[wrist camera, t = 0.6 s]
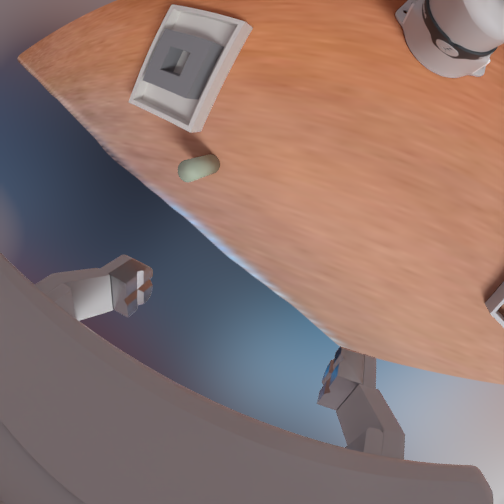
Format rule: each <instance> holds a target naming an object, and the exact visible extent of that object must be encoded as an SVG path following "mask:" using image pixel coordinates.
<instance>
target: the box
mask: <svg viewBox="0 0 504 504" xmlns="http://www.w3.org/2000/svg"><path fill="white" fill-rule="evenodd" d="M252 29H253V27H251V26H250V25H249V24H248V23H246V22H245V21H242V20H238V19H235V18H232V17H228V16H224V15H221V14H217V13H213V12H208V11H204V10H200V9H195V8H190V7H185V6H179V5H174V4H172V5H171V7H170V8H169V10H168V12H167V14H166V16H165V18H164V20H163V22H162V24H161V26H160V28H159V30H158V32H157V34H156V36H155V38H154V40H153V43H152V45H151V47H150V49H149V51H148V54H147V56H146V58H145V61H144V63H143V66H142V68H141V70H140V73H139V75H138V78H137V81H136V83H135V86H134V89H133V91H132V94H131V97H130V100H129V103H132V104H134V105H136V106H138V107H140V108H142V109H144V110H146V111H148V112H151V113H153V114H155V115H157V116H159V117H161V118H163V119H165V120H167V121H169V122H171V123H173V124H175V125H177V126H179V127H181V128H183V129H184V130H186V131H188V132H190V133H192V132H201V130H202V128H203V126H204V123H205V121H206V119H207V117H208V115H209V112H210V110H211V108H212V106H213V104H214V102H215V100H216V97H217V95H218V93H219V91H220V89H221V87H222V85H223V83H224V81H225V79H226V77H227V75H228V73H229V71H230V69H231V67H232V65H233V63H234V61H235V60H236V58H237V56H238V54H239V52H240V50H241V48H242V47H243V45H244V43H245V41H246V39H247V37H248V36H249V34H250V32H251V30H252Z"/></svg>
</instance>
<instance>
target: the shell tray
mask: <svg viewBox="0 0 504 504" xmlns="http://www.w3.org/2000/svg"><path fill="white" fill-rule="evenodd" d="M503 303H504V282H503V283H502V284H501V285H500V286H499V288H498V289H497V290H496V291H495V292H494V293H493V295H492V296H491V297H490V298H489V299H488V300H487V301H486V302H485V305H486V307H487V309H488V310H489V312H490V314H491V315H492V316H493V317H494V318H495V319H496V320H497V321H498V322H499V323H500V324H501V325H502V326H503V327H504V317H503V315H502V314H501V313H500V312H499V311H498V309H499V308H500V307H501V306H502V305H503Z"/></svg>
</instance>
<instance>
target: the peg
mask: <svg viewBox="0 0 504 504" xmlns="http://www.w3.org/2000/svg"><path fill="white" fill-rule="evenodd" d="M219 167H220V161H219V159H218V158H217V157H216V156H215V155H212V154H209V155H205V156H200V157H196V158H192V159H188V160H184V161H182V162H181V163H180V164H179V166H178V175H179V177H180V178H181V179H182V180H183V181H185V182H191V181H194V180H197V179H199V178H202V177H205V176H208V175H210V174H213V173H215V172H217V171H218V170H219Z"/></svg>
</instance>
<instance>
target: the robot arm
mask: <svg viewBox="0 0 504 504" xmlns="http://www.w3.org/2000/svg"><path fill="white" fill-rule="evenodd" d="M403 11H406V12H407V14H406V13H404V12H403ZM395 17H396V19H397V20H398V22H399V23H400V25H401V26H402V28H403V31H404V35H405V39H406V42H407V45H408V47H409V49H410V50H411V52H412V54H413V55H414V56H415V57H416V59H417V60H418V61H419V62H420V63H421V64H422V65H424V66H425V67H426V68H427V69H429V70H430V71H432V72H434V73H436V74H438V75H441V76H444V77H449V78H458V77H462V76H466V75H471V76H476V77H481V76H482V75H484V72H485V67H486V65H487V64H488V63H489V62H490V59H489V58H490V55H491V54H492V53H493V52H494V51H495V50H496V49H497V47H498V46H499V45H501V44H503V43H504V0H408V1H407V2H406V3H405V4H404V5H402V6H401V7H400V8H399V9H398V10H397V11H396V13H395ZM152 276H153V270H152V269H151V267H148V266H146V265H145V264H143V263H141V262H139V261H137V260H135V259H133V258H131V257H129V256H127V255H121V256H120V257H118V258H116V259H115V260H113V261H112V262H110V263H108V264H107V265H105V266H104V267H102V268H100V269H98V268H93V269H84V270H77V271H69V272H61V273H54V274H51V275H50V276H48V277H46V278H45V279H43V280H41V281H40V282H38V283H37V284H35V285H34V284H33V283H32V282H31V281H30V280H28V279H27V278H26V277H25V276H24V275H23V274H22V273H21V272H20V271H19V270H17V268H16V267H14V266H13V265H12V264H11V263H10V262H9V261H8V260H7V259H6V258H5V256H4V255H3V254H2V253H0V504H493V494H492V490H491V488H490V486H489V484H488V482H487V481H486V479H485V477H484V476H483V474H482V472H481V471H480V470H479V469H478V468H477V467H476V466H471V465H451V464H437V463H426V462H417V461H409V460H404V443H405V434H404V433H403V430H402V429H401V427H400V425H399V423H398V422H397V420H396V418H395V417H394V415H393V413H392V411H391V410H390V408H389V406H388V404H387V403H386V401H385V400H384V398H383V396H382V394H381V393H380V391H379V390H378V389H375V388H376V387H375V386H376V358H375V357H372V356H369V355H366V354H362V353H359V352H356V351H353V350H350V349H347V348H344V347H341V346H340V347H339V349H338V350H337V352H336V354H335V358H334V359H333V360H331V361H330V363H329V365H328V366H327V368H326V371H325V373H324V376H323V380H322V383H323V387H322V389H321V390H320V392H319V397H318V401H317V404H319V405H322V406H325V407H328V408H331V409H334V410H337V411H336V413H337V416H338V419H339V421H340V424H341V427H342V430H343V433H344V436H345V439H346V442H347V445H348V446H347V447H345V448H343V447H339V446H335V445H331V444H328V443H324V442H321V441H317V440H314V439H311V438H308V437H304V436H301V435H298V434H295V433H292V432H289V431H286V430H283V429H280V428H278V427H275V426H272V425H269V424H267V423H264V422H261V421H259V420H256V419H254V418H251V417H249V416H246V415H244V414H241V413H239V412H237V411H234V410H232V409H230V408H227V407H225V406H223V405H221V404H218V403H216V402H214V401H212V400H210V399H208V398H206V397H204V396H201V395H199V394H197V393H195V392H193V391H191V390H189V389H188V388H186V387H183V386H182V385H180V384H178V383H176V382H174V381H172V380H170V379H168V378H167V377H165V376H163V375H161V374H159V373H158V372H156V371H154V370H153V369H151V368H149V367H147V366H146V365H144V364H142V363H141V362H139V361H137V360H136V359H134V358H133V357H131V356H129V355H128V354H126V353H125V352H123V351H121V350H120V349H118V348H117V347H115V346H114V345H112V344H111V343H109V342H108V341H106V340H105V339H103V338H102V337H100V336H99V335H97V334H96V333H95V332H93V331H92V330H90V329H89V328H88V327H86V326H85V325H83V324H82V323H81V322H80V321H79V320H83V319H86V318H89V317H93V316H96V315H99V314H102V313H106V312H109V311H112V310H113V309H114V310H115V311H117V312H119V313H121V314H122V315H124V316H126V317H129V316H130V315H131V314H133V313H134V312H135V311H136V310H137V307H138V305H141V304H144V303H145V302H146V301H147V300H148V299H149V297H150V295H151V292H152V283H151V281H150V279H151V277H152Z"/></svg>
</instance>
